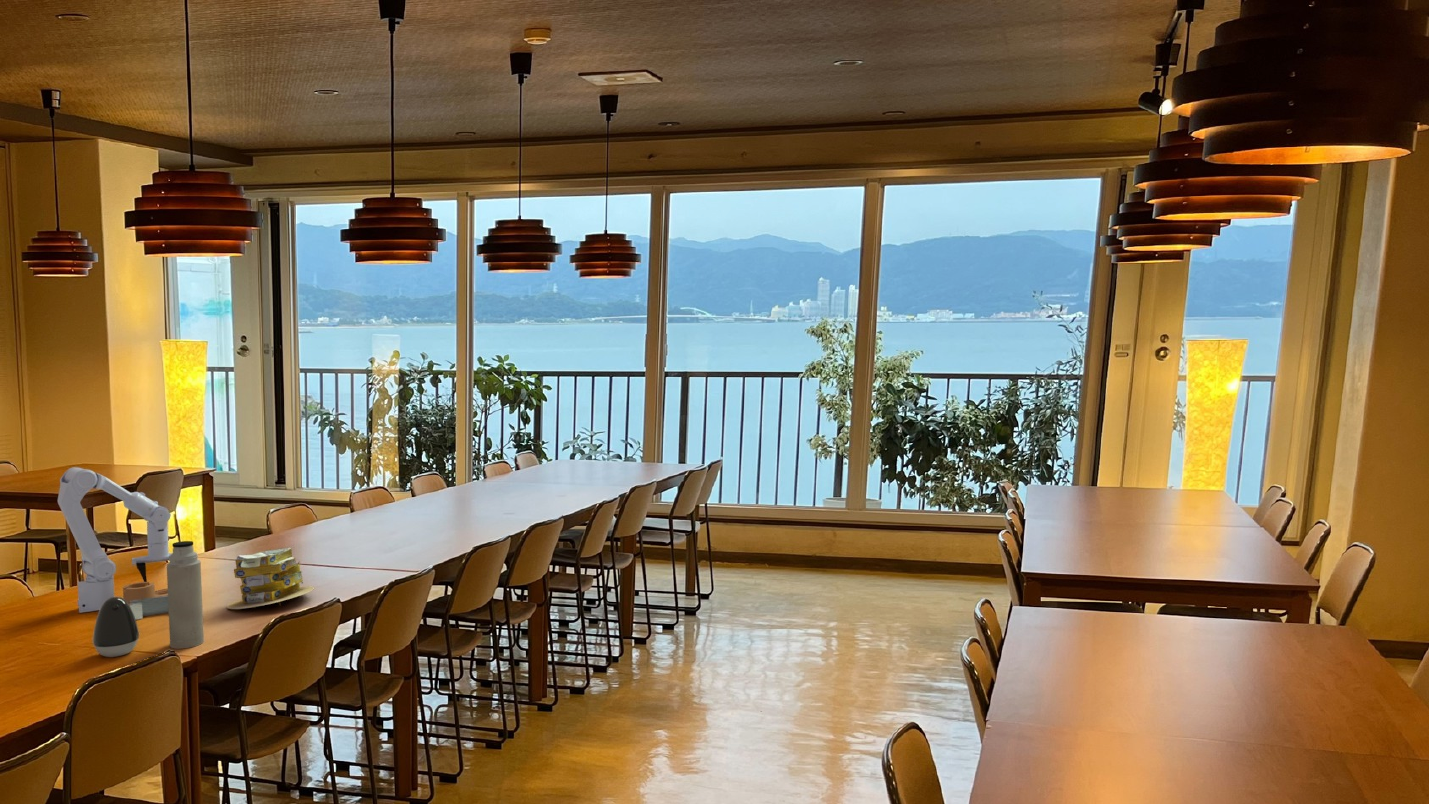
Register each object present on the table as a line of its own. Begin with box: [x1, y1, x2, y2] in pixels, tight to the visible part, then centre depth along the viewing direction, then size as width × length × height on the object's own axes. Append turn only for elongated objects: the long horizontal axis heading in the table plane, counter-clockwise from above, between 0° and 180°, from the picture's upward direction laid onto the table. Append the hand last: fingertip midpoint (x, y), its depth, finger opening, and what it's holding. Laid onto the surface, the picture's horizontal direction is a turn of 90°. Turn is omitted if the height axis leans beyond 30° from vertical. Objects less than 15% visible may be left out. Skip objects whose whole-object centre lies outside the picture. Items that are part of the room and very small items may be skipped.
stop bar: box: [130, 596, 169, 621], centre depth 278 cm, size 17×4×5 cm, turn 123°
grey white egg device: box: [92, 596, 140, 658], centre depth 242 cm, size 10×10×15 cm
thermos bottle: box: [166, 540, 205, 650], centre depth 249 cm, size 8×8×28 cm
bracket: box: [122, 581, 168, 606], centre depth 290 cm, size 18×8×7 cm, turn 153°
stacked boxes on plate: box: [226, 547, 315, 610], centre depth 289 cm, size 25×25×17 cm
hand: (159, 583), depth 298 cm, fingers open, 7 cm apart
